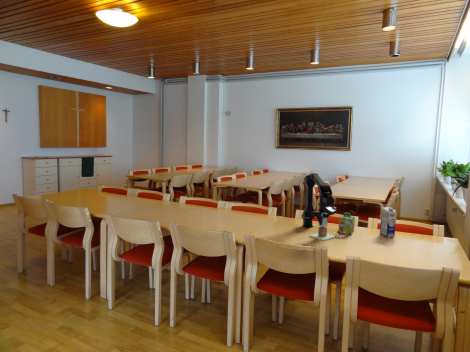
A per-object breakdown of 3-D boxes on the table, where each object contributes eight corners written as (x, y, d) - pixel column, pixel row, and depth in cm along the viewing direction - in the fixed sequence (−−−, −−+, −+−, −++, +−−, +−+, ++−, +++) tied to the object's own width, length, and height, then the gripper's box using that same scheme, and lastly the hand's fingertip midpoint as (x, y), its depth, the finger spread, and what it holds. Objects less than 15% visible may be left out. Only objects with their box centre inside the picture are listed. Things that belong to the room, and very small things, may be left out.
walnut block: (318, 235, 228) (318, 227, 227) (321, 234, 230) (322, 226, 229) (322, 237, 225) (323, 228, 224) (326, 236, 227) (326, 227, 226)
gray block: (318, 225, 227) (318, 217, 226) (322, 224, 229) (322, 216, 229) (323, 227, 224) (323, 218, 223) (326, 226, 226) (327, 217, 225)
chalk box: (338, 233, 237) (338, 213, 235) (341, 230, 245) (342, 210, 243) (351, 235, 232) (352, 214, 230) (354, 232, 240) (355, 212, 238)
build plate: (309, 236, 229) (309, 235, 229) (321, 233, 236) (321, 232, 236) (323, 241, 219) (323, 239, 219) (334, 237, 226) (335, 236, 226)
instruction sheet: (327, 234, 234) (327, 234, 234) (333, 232, 238) (334, 232, 238) (339, 237, 226) (339, 237, 226) (345, 236, 230) (345, 235, 230)
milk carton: (387, 233, 237) (389, 206, 234) (394, 236, 231) (396, 208, 228) (379, 234, 234) (381, 207, 232) (387, 237, 228) (389, 209, 225)
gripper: (324, 206, 213) (323, 229, 215) (342, 202, 223) (341, 225, 226) (311, 203, 221) (310, 225, 224) (328, 200, 232) (327, 221, 234)
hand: (322, 224), depth 227 cm, fingers closed on gray block, 4 cm apart
